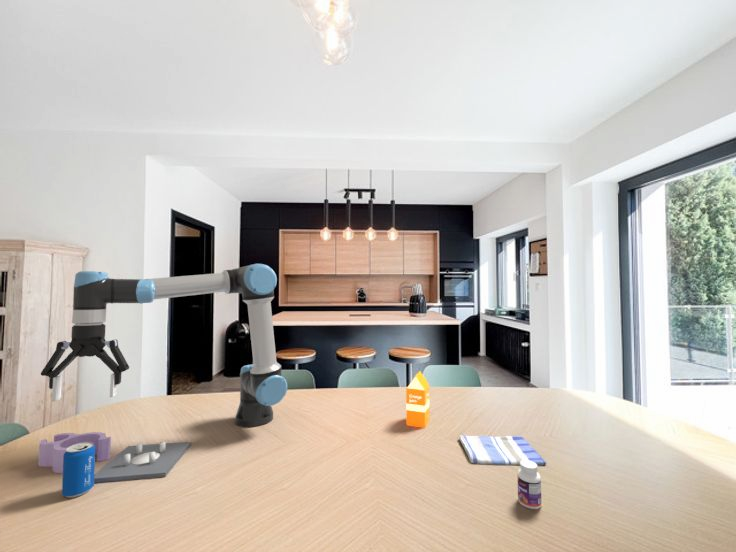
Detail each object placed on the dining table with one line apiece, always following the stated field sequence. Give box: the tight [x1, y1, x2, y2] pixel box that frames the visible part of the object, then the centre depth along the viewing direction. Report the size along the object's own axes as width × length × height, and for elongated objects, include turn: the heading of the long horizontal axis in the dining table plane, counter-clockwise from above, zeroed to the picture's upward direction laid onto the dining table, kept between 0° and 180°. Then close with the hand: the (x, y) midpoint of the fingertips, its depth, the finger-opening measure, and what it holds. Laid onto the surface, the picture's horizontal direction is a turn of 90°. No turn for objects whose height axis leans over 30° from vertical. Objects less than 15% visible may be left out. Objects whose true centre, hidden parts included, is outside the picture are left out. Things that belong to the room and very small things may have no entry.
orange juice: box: [405, 370, 430, 429], centre depth 135 cm, size 8×9×20 cm
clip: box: [38, 431, 112, 474], centre depth 105 cm, size 20×12×7 cm, turn 80°
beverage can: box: [61, 442, 96, 499], centre depth 89 cm, size 6×6×12 cm
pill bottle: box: [516, 460, 542, 510], centre depth 84 cm, size 5×5×10 cm
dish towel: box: [458, 434, 547, 466], centre depth 110 cm, size 17×24×3 cm
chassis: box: [94, 441, 192, 484], centre depth 104 cm, size 20×20×4 cm
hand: (85, 398), depth 95 cm, fingers open, 13 cm apart
